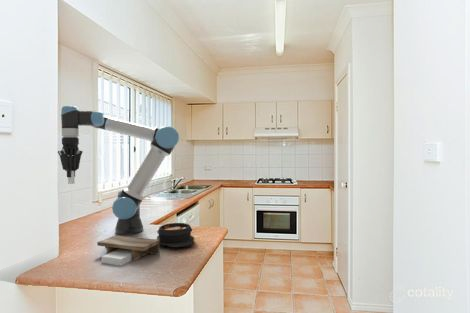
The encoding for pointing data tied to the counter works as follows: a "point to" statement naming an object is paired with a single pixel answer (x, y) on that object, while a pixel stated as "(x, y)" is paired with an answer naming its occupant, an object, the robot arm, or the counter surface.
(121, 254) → the plastic case
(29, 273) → the counter surface
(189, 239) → the casserole
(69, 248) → the counter surface
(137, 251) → the low shelf
